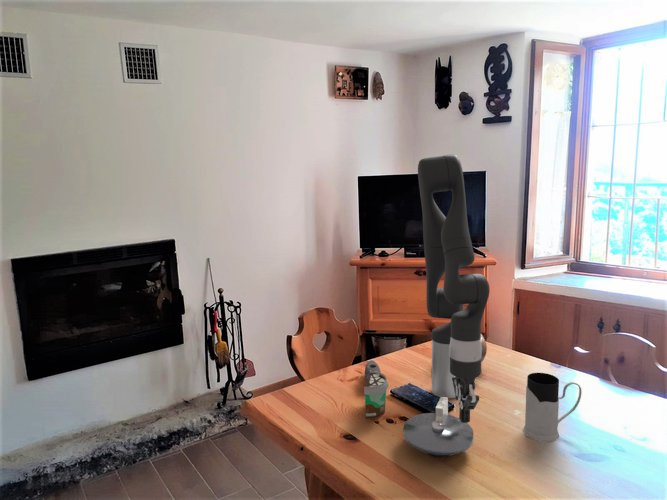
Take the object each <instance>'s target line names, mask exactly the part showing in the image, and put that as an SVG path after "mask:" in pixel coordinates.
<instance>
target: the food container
mask: <svg viewBox="0 0 667 500" xmlns="http://www.w3.org/2000/svg"><path fill="white" fill-rule="evenodd" d="M380 372H381V371H380ZM380 372H377V371H370V376H369V379H368V382H367V384H366V385H365V386H364V390H363V391H364V395H363V396H364V406H365V407H364V408H365V419H369V420H372V419H377V418H381V417H382V416H384V414H385V413H386V401H387V400H386V399H387V390H388V388H389V387H390V385H389V381H388V378H387V376H386V375H385V374H384V373H382V372H381V373H380Z"/></svg>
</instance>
